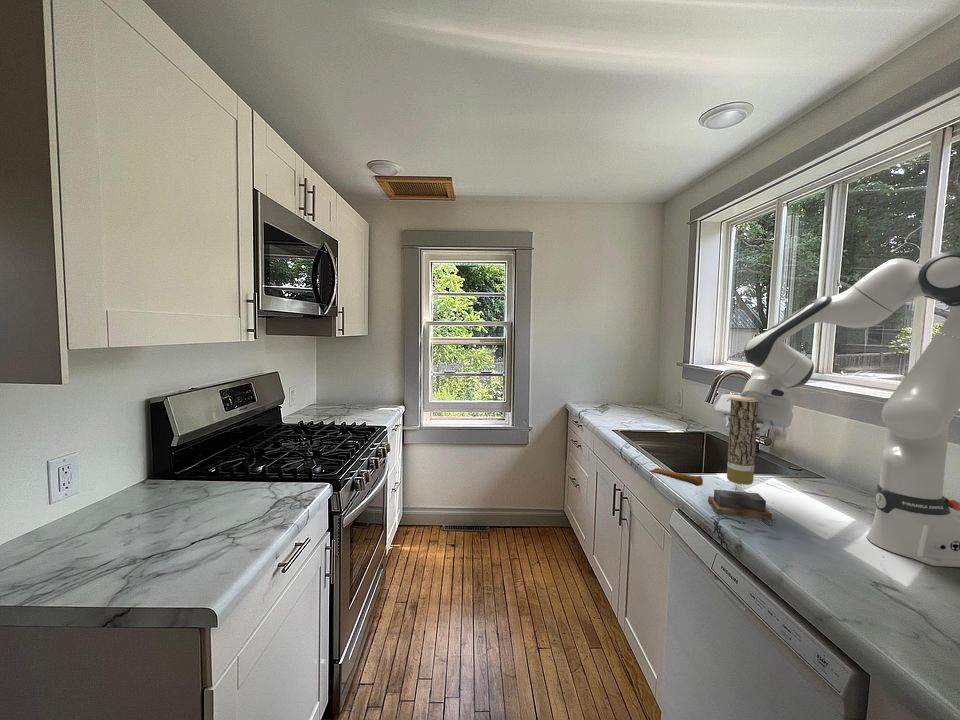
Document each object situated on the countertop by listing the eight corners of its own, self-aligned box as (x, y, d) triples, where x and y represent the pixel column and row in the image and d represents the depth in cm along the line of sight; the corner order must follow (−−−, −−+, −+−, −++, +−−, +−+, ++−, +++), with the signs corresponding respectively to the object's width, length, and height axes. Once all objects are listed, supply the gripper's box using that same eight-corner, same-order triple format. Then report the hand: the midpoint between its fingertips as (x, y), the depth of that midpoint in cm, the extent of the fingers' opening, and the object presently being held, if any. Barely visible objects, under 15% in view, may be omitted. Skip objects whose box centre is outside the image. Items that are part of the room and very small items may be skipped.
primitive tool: (648, 472, 164) (648, 463, 163) (656, 469, 167) (657, 461, 167) (698, 487, 148) (699, 477, 148) (706, 484, 151) (707, 474, 151)
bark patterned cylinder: (730, 484, 125) (735, 399, 124) (723, 476, 132) (728, 396, 130) (756, 486, 124) (762, 400, 122) (748, 478, 130) (753, 397, 129)
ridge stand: (758, 505, 132) (759, 491, 131) (771, 519, 122) (772, 503, 122) (708, 500, 135) (708, 486, 135) (717, 513, 125) (718, 498, 125)
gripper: (720, 385, 139) (703, 418, 134) (795, 393, 123) (779, 431, 117) (726, 398, 142) (710, 431, 137) (799, 407, 125) (784, 445, 120)
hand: (742, 431), depth 127 cm, fingers closed on bark patterned cylinder, 7 cm apart
